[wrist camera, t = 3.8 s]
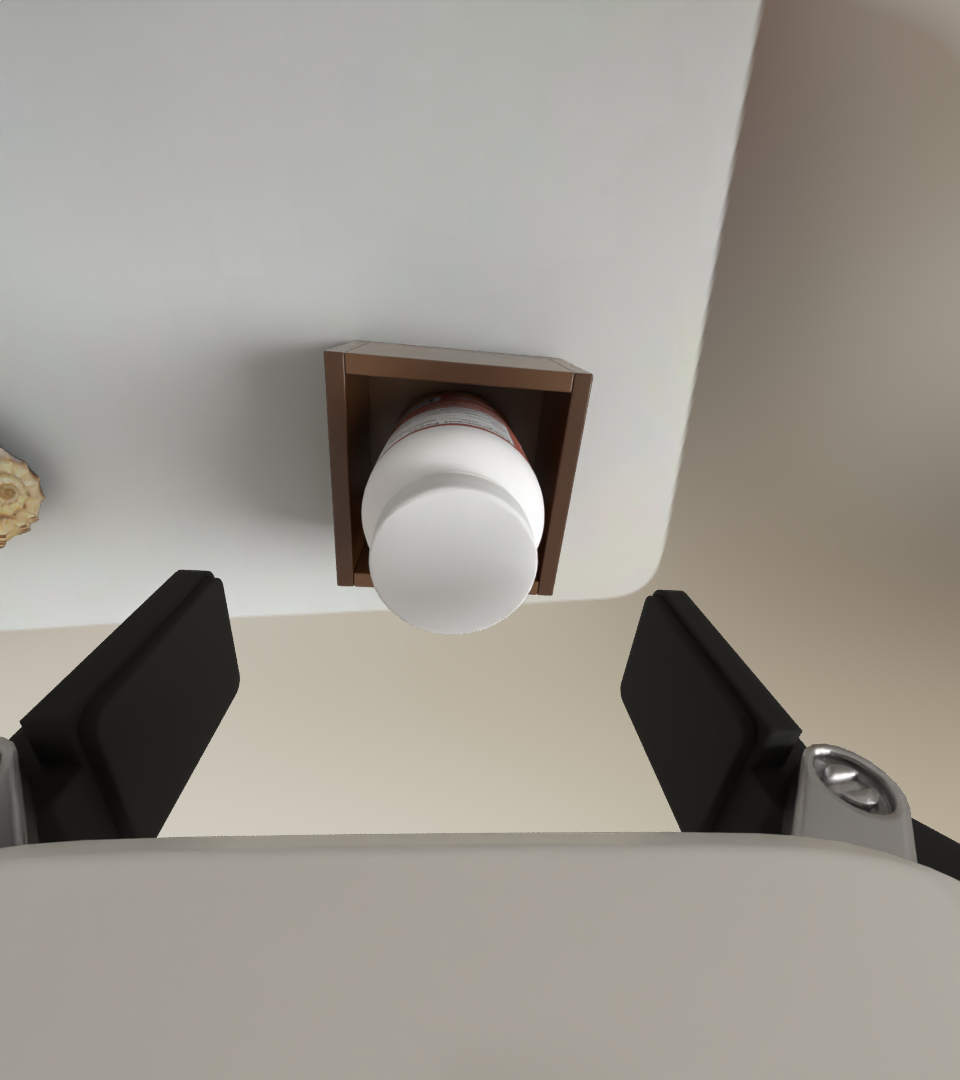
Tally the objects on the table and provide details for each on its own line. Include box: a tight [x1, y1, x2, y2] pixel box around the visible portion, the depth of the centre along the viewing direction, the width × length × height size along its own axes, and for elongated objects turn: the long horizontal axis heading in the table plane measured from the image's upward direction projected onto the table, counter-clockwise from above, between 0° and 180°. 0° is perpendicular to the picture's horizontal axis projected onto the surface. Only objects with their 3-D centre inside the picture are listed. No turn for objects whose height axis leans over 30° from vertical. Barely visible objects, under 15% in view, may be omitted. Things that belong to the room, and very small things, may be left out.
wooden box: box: [324, 340, 593, 596], centre depth 21 cm, size 9×9×6 cm
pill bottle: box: [362, 392, 544, 635], centre depth 18 cm, size 6×6×11 cm
